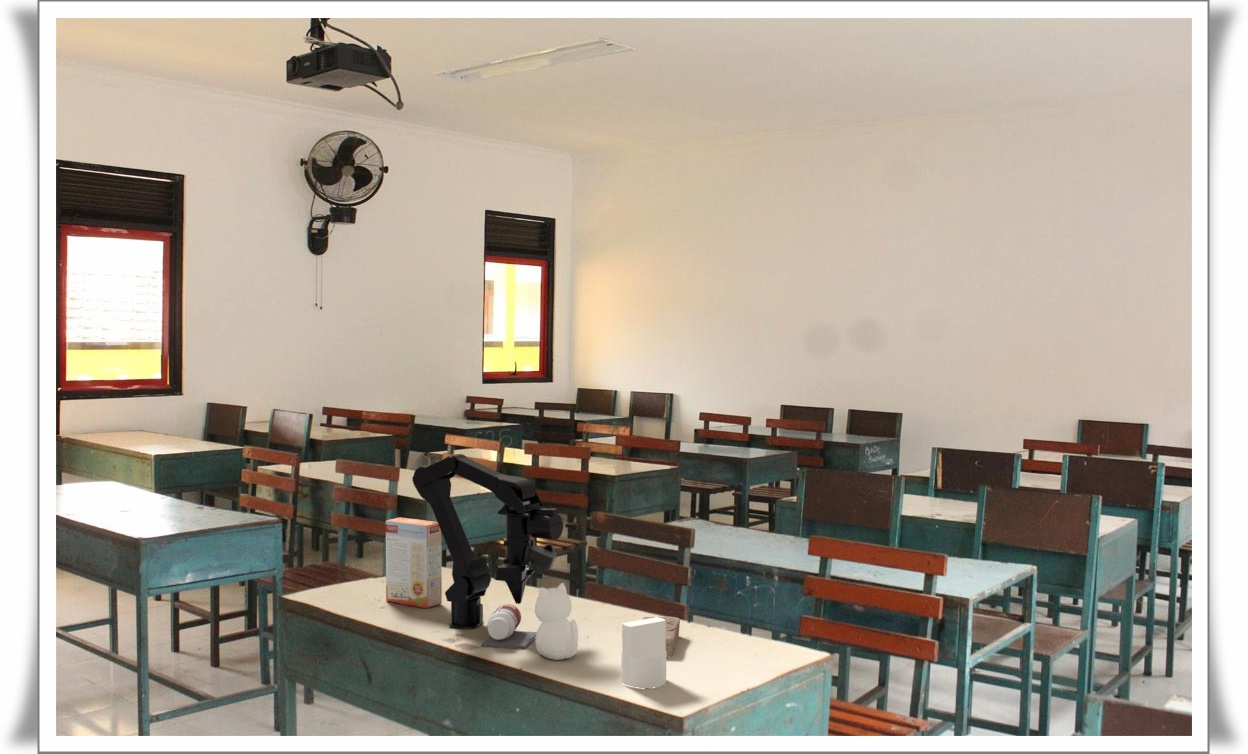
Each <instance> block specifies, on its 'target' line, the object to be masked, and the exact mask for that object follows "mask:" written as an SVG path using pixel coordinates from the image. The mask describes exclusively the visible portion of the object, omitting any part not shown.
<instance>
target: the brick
mask: <svg viewBox="0 0 1248 754" xmlns="http://www.w3.org/2000/svg"><path fill="white" fill-rule="evenodd" d="M655 617H656V616H644V617H643V618H642V620H644V619H649V618H655ZM658 617H659V618H662V619H664V620H666V658H670V657H672V656H673V655H672V654H674V650H675V647H676V645H677V642H678V638H679V635H680V628H681V627H680V625H681V621H680V619H681V618H679V617H675V616H658Z"/></svg>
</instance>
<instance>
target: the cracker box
mask: <svg viewBox="0 0 1248 754" xmlns="http://www.w3.org/2000/svg"><path fill="white" fill-rule="evenodd" d="M442 564H443V563H442V532H441V530H440V527H439V525H438V522H437V521H431V520H424V519H417V518H407V517H396V518H392V519H386V520H385V601H386V602H388V601H391V602H390V603H394V602H396V603H395V604H401V605H406V606H410V607H411V606H413V607H417V608H423V609H428V608H433V607H435V606H439V605H442V604H443V603H442V601H443V600H442V598H443V596H442V593H443V592H442V590H443V589H442V588H443V586H442V583H443V582H442V579H443V578H442V576H443V575H442V571H443V570H442Z"/></svg>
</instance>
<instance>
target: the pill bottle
mask: <svg viewBox="0 0 1248 754" xmlns="http://www.w3.org/2000/svg"><path fill="white" fill-rule="evenodd" d="M521 621H522V613H521V611H520V609H519V608H518V607H517V606H516V605H514V604H512V603H504V604H501V605H499V606H498V607H497V608H496V609H495V611H494V612H493V613H491V616H490V617H489V618H488V621H487V632H488V634H489V636H491V637H492V638H494V639H497V640H501V639H506V638H508V637H510V636H511V635H512V634H513V632H514V631H516V630H517V628H518V626H520V624H521Z"/></svg>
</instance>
